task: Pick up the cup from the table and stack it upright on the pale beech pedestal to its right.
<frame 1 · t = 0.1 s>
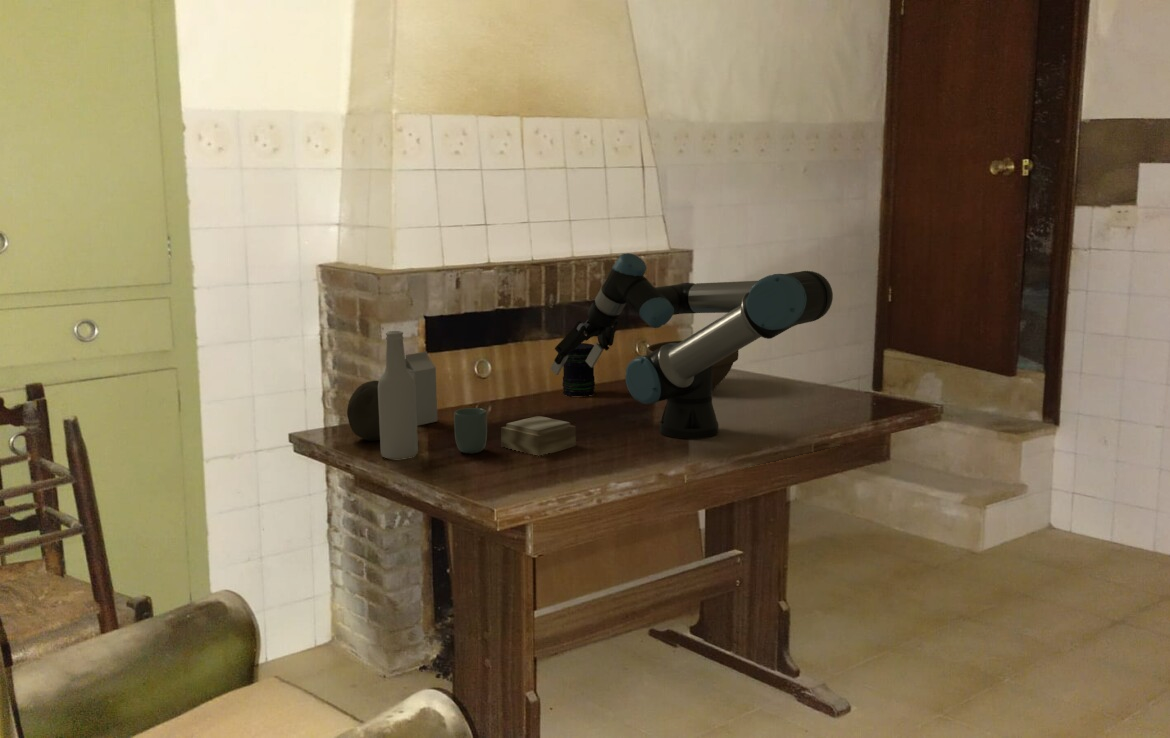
hand: (571, 367, 279), 15 cm above the table, tool tilted 35°, fingers open, 13 cm apart
alcohol: (399, 456, 252), on the table
pedestal: (538, 446, 259), on the table
black ball: (377, 440, 267), on the table
milk carton: (419, 422, 286), on the table
storage jar: (578, 394, 320), on the table
flower pot: (691, 389, 327), on the table
cup: (471, 452, 255), on the table
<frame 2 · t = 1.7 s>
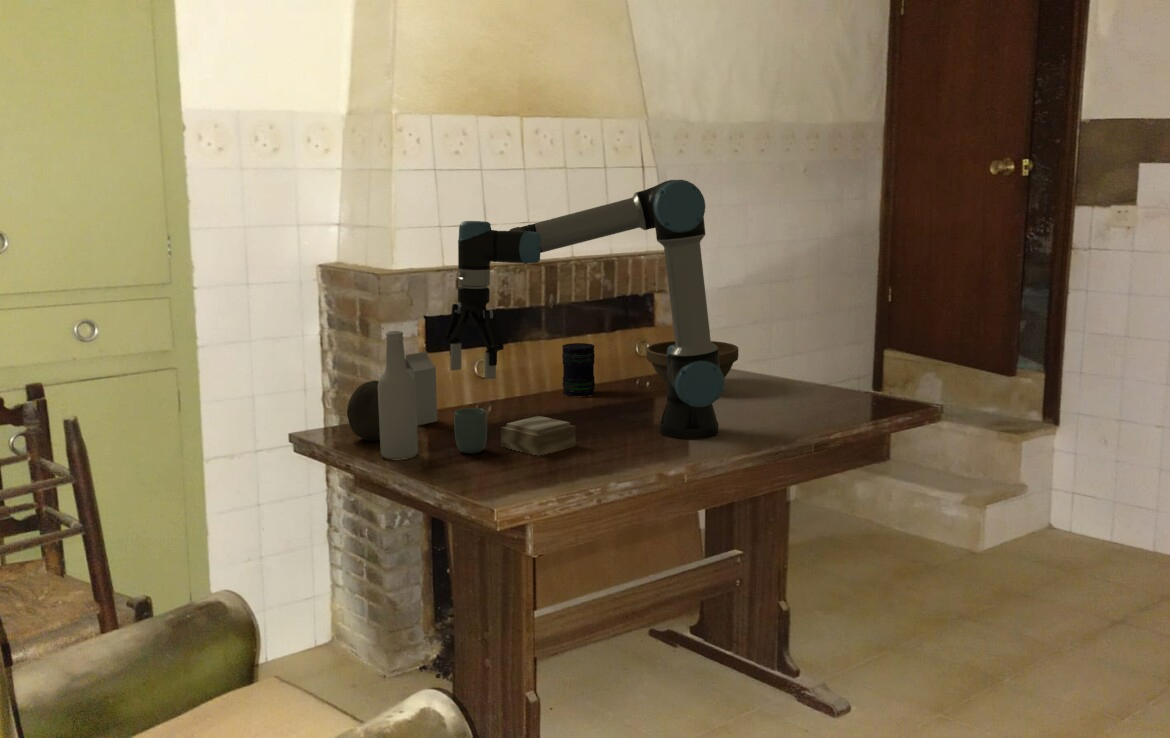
hand: (472, 374, 254), 19 cm above the table, tool pointing down, fingers open, 13 cm apart
nothing on the table moved.
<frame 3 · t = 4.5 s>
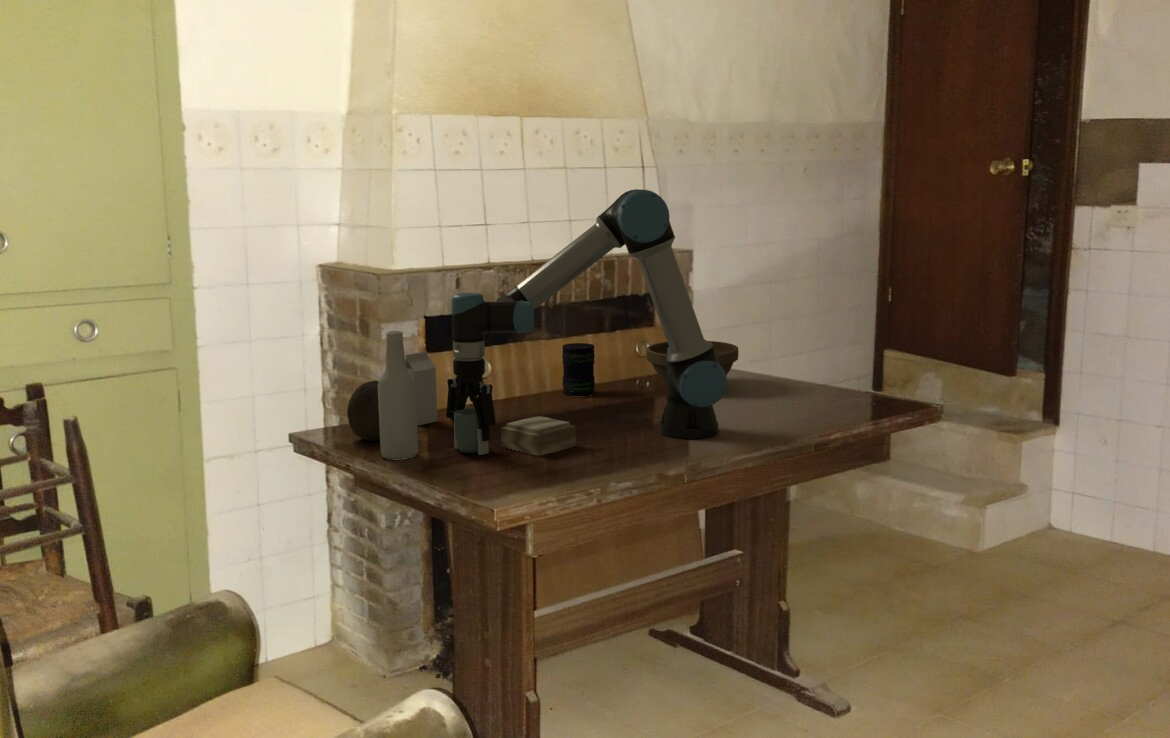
hand: (471, 450, 255), 0 cm above the table, tool pointing down, fingers closed on cup, 8 cm apart
cup: (471, 452, 255), on the table, touching gripper
everything else where it was.
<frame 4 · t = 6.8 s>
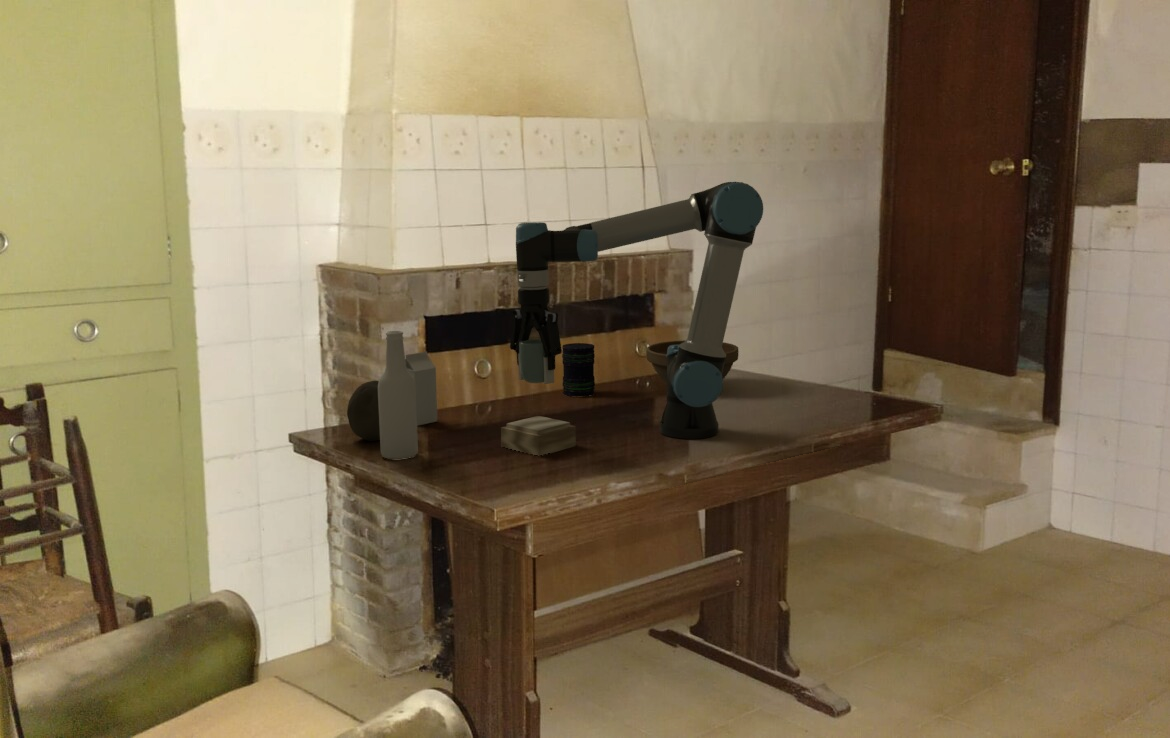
hand: (536, 380, 256), 17 cm above the table, tool pointing down, fingers closed on cup, 8 cm apart
cup: (536, 382, 256), point 16 cm above the table, touching gripper
everything else where it was.
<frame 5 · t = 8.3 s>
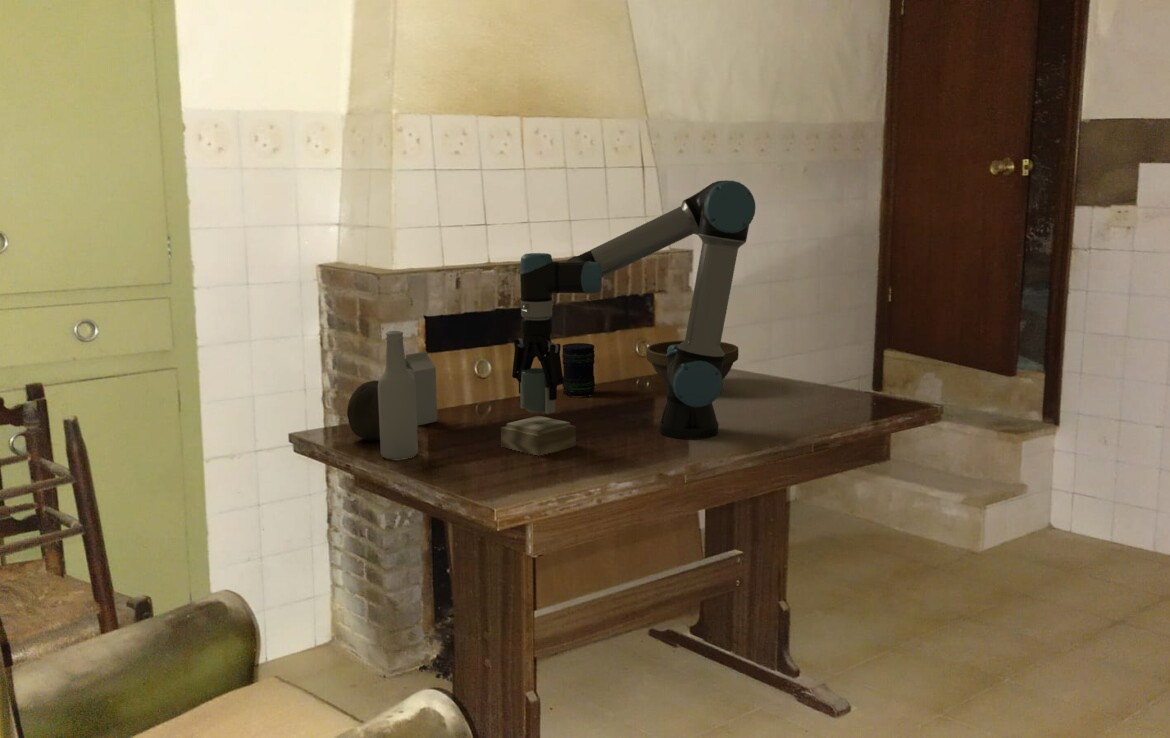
hand: (537, 410, 257), 9 cm above the table, tool pointing down, fingers closed on cup, 8 cm apart
cup: (537, 411, 258), point 9 cm above the table, touching gripper
everything else where it was.
when the fingers open (8 cm above the table, at t = 9.5 s): cup drops 1 cm, resting on pedestal.
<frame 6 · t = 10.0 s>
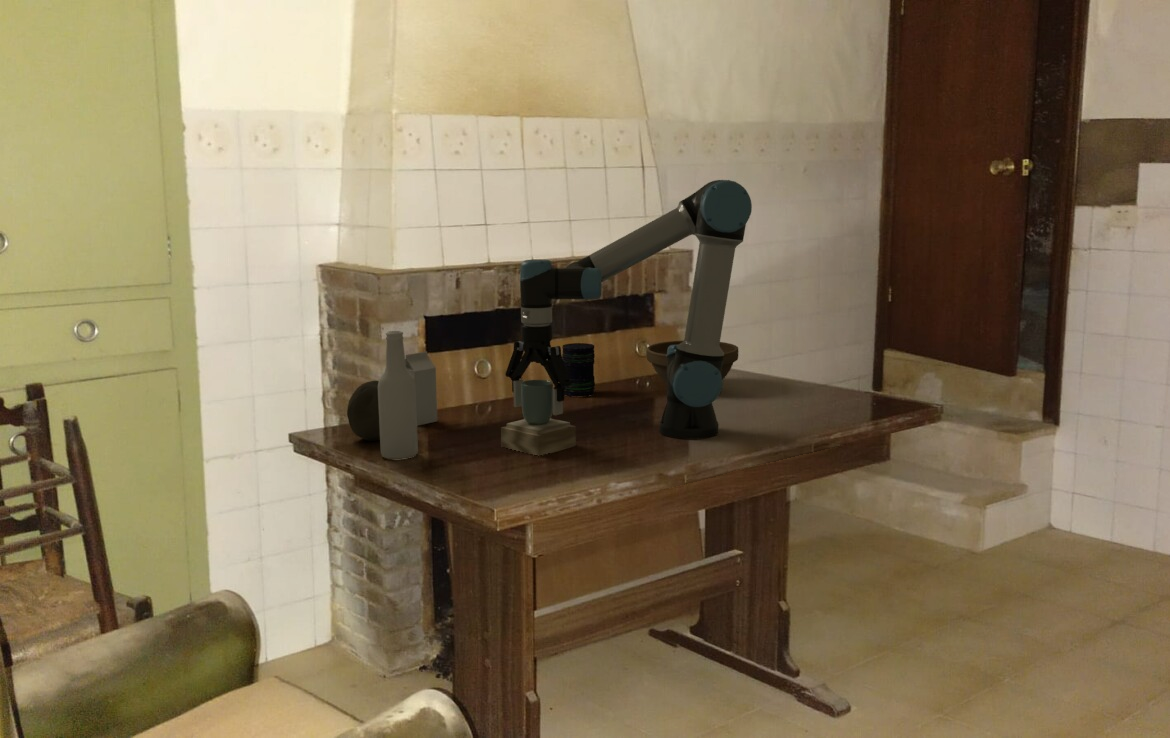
hand: (538, 410, 257), 9 cm above the table, tool pointing down, fingers open, 13 cm apart
cup: (537, 423, 258), point 6 cm above the table, touching pedestal
everything else where it was.
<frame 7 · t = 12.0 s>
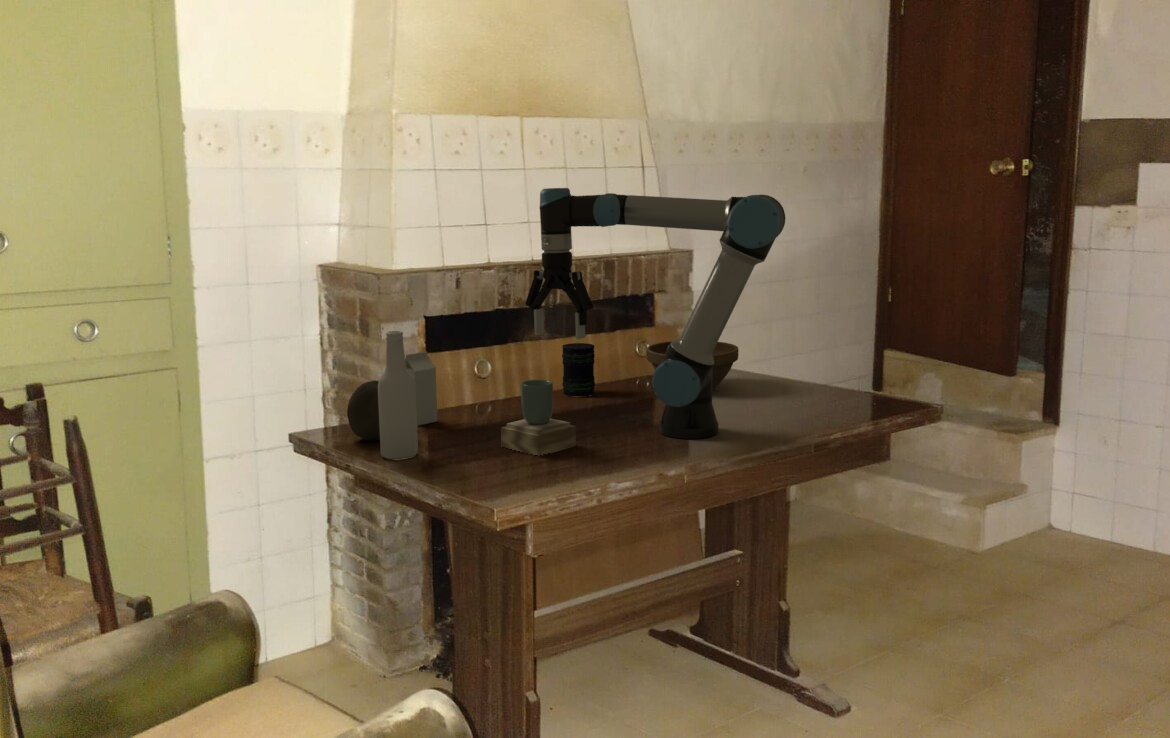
hand: (559, 336, 263), 26 cm above the table, tool pointing down, fingers open, 13 cm apart
nothing on the table moved.
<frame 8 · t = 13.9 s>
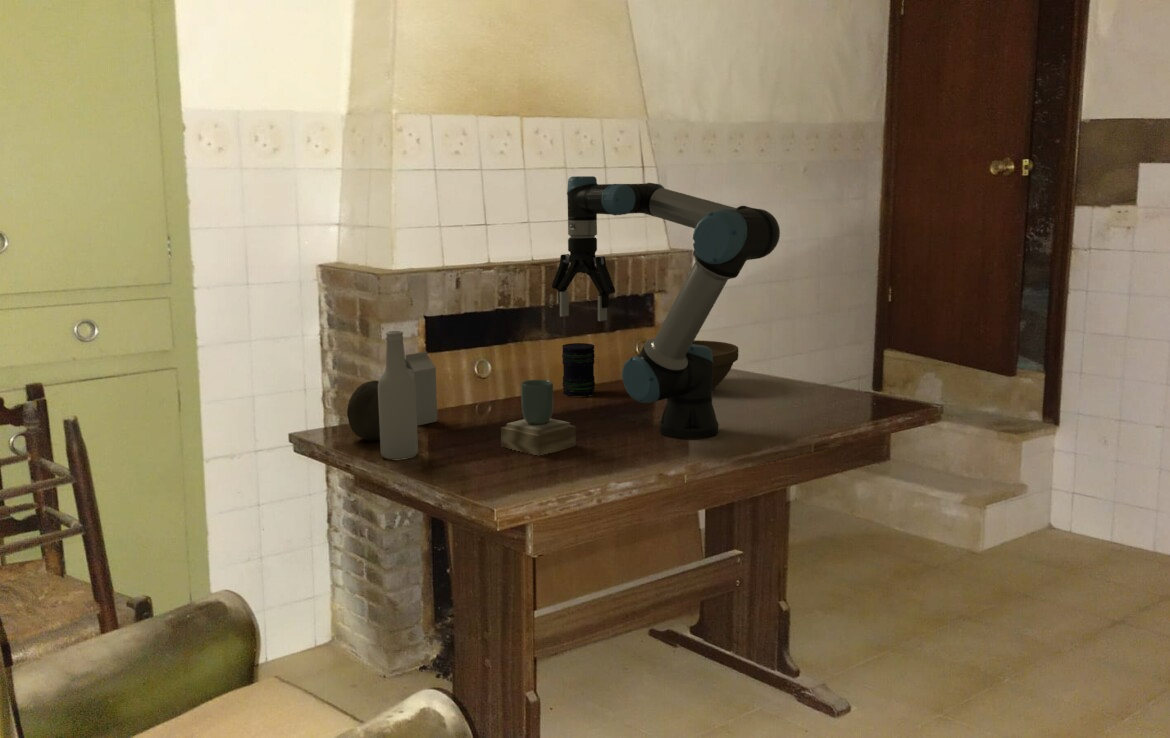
hand: (583, 318, 276), 29 cm above the table, tool pointing down, fingers open, 13 cm apart
nothing on the table moved.
at the end: cup inside the target area on the pedestal (0.3 cm from its centre), point 5.8 cm above the pedestal's base; cup tilted 0°; the gripper is holding nothing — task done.
